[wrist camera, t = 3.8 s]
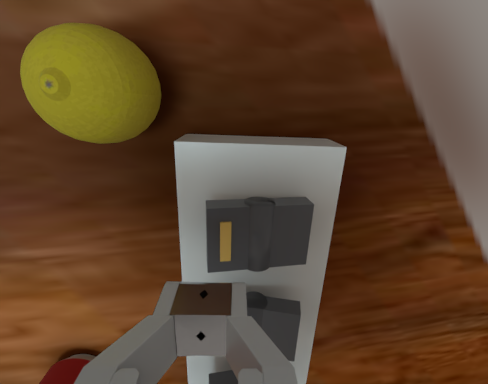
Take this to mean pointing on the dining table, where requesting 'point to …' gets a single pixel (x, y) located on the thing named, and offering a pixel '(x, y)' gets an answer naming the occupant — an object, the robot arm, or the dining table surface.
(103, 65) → the lemon
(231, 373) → the rocker
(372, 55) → the dining table surface
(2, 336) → the dining table surface
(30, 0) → the dining table surface
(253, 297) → the rocker
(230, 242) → the rocker
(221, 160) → the rocker switch panel
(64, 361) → the beverage can
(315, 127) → the dining table surface
